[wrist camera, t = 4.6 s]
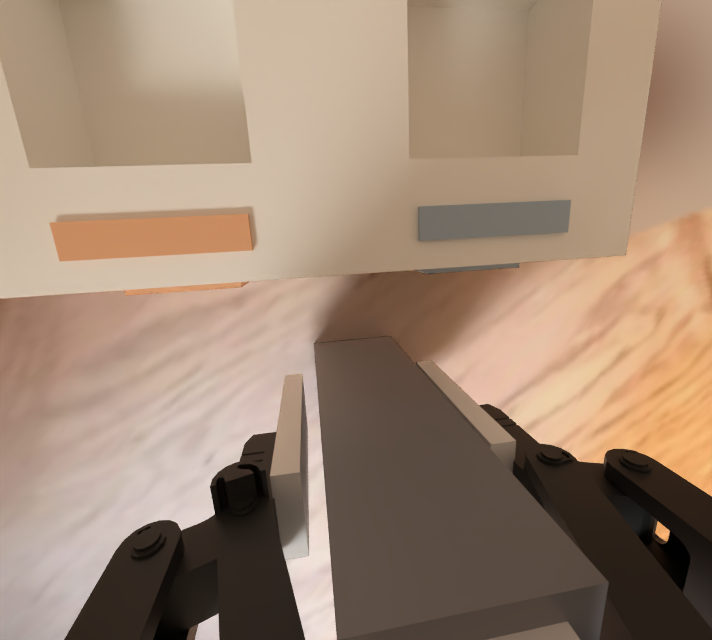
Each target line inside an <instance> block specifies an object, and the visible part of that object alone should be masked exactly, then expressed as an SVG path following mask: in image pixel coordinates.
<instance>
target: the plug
mask: <svg viewBox="0 0 712 640" xmlns="http://www.w3.org/2000/svg"><path fill="white" fill-rule="evenodd" d="M314 350H315V363H316V376H317V389H318V402H319V414H320V427H321V440H322V453H323V466H324V478H325V491H326V504H327V517H328V530H329V542H330V555H331V568H332V581H333V594H334V606H335V619H336V632H337V640H599V638H600V632H601V626H602V620H603V614H604V608H605V602H606V596H607V590H608V584H609V582H608V581H607V580H606V579H605V577H604V576H603V575H602V574H601V573H600V572H599V571H598V570H597V568H596V567H595V566H594V565H593V564H592V563H591V562H590V561H589V559H588V558H587V557H586V556H585V555H584V554H583V553H582V552H581V550H580V549H579V548H578V547H577V546H576V545H575V544H574V542H573V541H572V540H571V539H570V538H569V537H568V536H567V535H566V533H565V532H564V531H563V530H562V529H561V528H560V527H559V526H558V524H557V523H556V522H555V521H554V520H553V519H552V518H551V517H550V515H549V514H548V513H547V512H546V511H545V510H544V509H543V508H542V506H541V505H540V504H539V503H538V502H537V501H536V500H535V498H534V497H533V496H532V495H531V494H530V493H529V492H528V491H527V489H526V488H525V487H524V486H523V485H522V484H521V483H520V482H519V480H518V479H517V478H516V477H515V476H514V475H513V474H512V473H511V471H510V470H509V469H508V468H507V467H506V466H505V465H504V464H503V462H502V461H501V460H500V459H499V458H498V457H497V456H496V455H495V453H494V452H493V451H492V450H491V449H490V448H489V447H488V445H487V444H486V443H485V442H484V441H483V440H482V439H481V438H480V436H479V435H478V434H477V433H476V432H475V431H474V430H473V429H472V427H471V426H470V425H469V424H468V423H467V422H466V421H465V420H464V418H463V417H462V416H461V415H460V414H459V413H458V412H457V411H456V409H455V408H454V407H453V406H452V405H451V404H450V403H449V401H448V400H447V399H446V398H445V397H444V396H443V395H442V394H441V392H440V391H439V390H438V389H437V388H436V387H435V386H434V385H433V383H432V382H431V381H430V380H429V379H428V378H427V377H426V376H425V374H424V373H423V372H422V371H421V370H420V369H419V368H418V367H417V365H416V364H415V363H414V362H413V361H412V360H411V359H410V357H409V356H408V355H407V354H406V353H405V352H404V351H403V350H402V348H401V347H400V346H399V345H398V344H397V343H396V342H395V341H394V339H393V338H392V337H391V336H386V337H376V338H365V339H354V340H344V341H333V342H323V343H314Z"/></svg>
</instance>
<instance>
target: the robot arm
mask: <svg viewBox="0 0 712 640" xmlns="http://www.w3.org/2000/svg"><path fill="white" fill-rule="evenodd" d="M416 365H417V367H418V368H419V369H420V370H421V371H422V372H423V373H424V374H425V376H426V377H427V378H428V379H429V380H430V381H431V382H432V383H433V385H434V386H435V387H436V388H437V389H438V390H439V391H440V392H441V394H442V395H443V396H444V397H445V398H446V399H447V400H448V401H449V403H450V404H451V405H452V406H453V407H454V408H455V409H456V411H457V412H458V413H459V414H460V415H461V416H462V417H463V418H464V420H465V421H466V422H467V423H468V424H469V425H470V426H471V427H472V429H473V430H474V431H475V432H476V433H477V434H478V435H479V436H480V438H481V439H482V440H483V441H484V442H485V443H486V444H487V445H488V447H489V448H490V449H491V450H492V451H493V452H494V453H495V455H496V456H497V457H498V458H499V459H500V460H501V461H502V462H503V464H504V465H505V466H506V467H507V468H508V469H509V470H510V471H511V473H512V474H513V475H514V476H515V477H516V478H517V479H518V480H519V482H520V483H521V484H522V485H523V486H524V487H525V488H526V489H527V491H528V492H529V493H530V494H531V495H532V496H533V497H534V498H535V500H536V501H537V502H538V503H539V504H540V505H541V506H542V508H543V509H544V510H545V511H546V512H547V513H548V514H549V515H550V517H551V518H552V519H553V520H554V521H555V522H556V523H557V524H558V526H559V527H560V528H561V529H562V530H563V531H564V532H565V533H566V535H567V536H568V537H569V538H570V539H571V540H572V541H573V542H574V544H575V545H576V546H577V547H578V548H579V549H580V550H581V552H582V553H583V554H584V555H585V556H586V557H587V558H588V559H589V561H590V562H591V563H592V564H593V565H594V566H595V567H596V568H597V570H598V571H599V572H600V573H601V574H602V575H603V576H604V577H605V579H606V580H607V581H608V582H609V584H608V590H607V596H606V602H605V608H604V614H603V620H602V626H601V632H600V638H599V640H712V497H711V496H710V495H708V494H707V493H705V492H704V491H702V490H701V489H699V488H698V487H696V486H694V485H693V484H691V483H690V482H688V481H687V480H685V479H684V478H682V477H681V476H679V475H677V474H676V473H674V472H673V471H671V470H670V469H668V468H667V467H665V466H664V465H662V464H661V463H659V462H657V461H656V460H654V459H652V458H650V457H648V456H646V455H644V454H641V453H638V452H636V451H633V450H627V449H612V450H609V451H607V453H606V454H605V458H604V464H600V463H587V462H578V461H577V459H576V458H575V457H574V456H572V455H571V454H570V453H569V452H567V451H565V450H563V449H561V448H559V447H555V446H552V445H546V444H539V443H538V442H537V441H536V440H535V439H533V438H532V437H531V436H530V435H529V434H528V433H526V432H525V431H524V430H523V429H522V428H521V427H520V426H518V425H516V423H515V422H514V421H513V420H512V419H509V417H508V416H507V415H506V414H505V413H503V412H502V411H501V410H500V409H498V408H495V407H493V406H491V405H489V404H484V405H478V404H477V403H476V402H475V401H474V400H473V399H472V398H471V397H470V396H469V395H468V394H467V393H465V392H464V391H463V390H462V389H461V388H460V387H459V386H458V385H457V384H456V383H455V382H454V381H453V380H452V379H451V378H450V377H449V376H448V375H447V374H446V373H444V372H443V371H442V370H441V369H440V368H439V367H438V366H437V365H436V364H435V363H434V362H433V361H432V360H427V361H418V362H416ZM210 489H211V494H212V499H213V505H214V510H215V515H214V516H212V517H211V518H209V519H207V520H205V521H203V522H201V523H199V524H197V525H194V526H192V527H189V528H187V529H184V530H182V531H181V530H180V528H179V526H178V524H177V523H175V522H173V521H170V520H162V521H157V522H153V523H150V524H147V525H145V526H143V527H142V528H140V529H138V530H136V531H135V532H133V533H132V534H131V535H130V536H128V537H127V538H126V539H125V540H124V541H123V542H122V543H121V545H120V546H119V547H118V549H117V550H116V551H115V553H114V555H113V557H112V558H111V560H110V562H109V564H108V565H107V567H106V569H105V570H104V572H103V574H102V576H101V577H100V579H99V581H98V582H97V584H96V586H95V588H94V589H93V591H92V593H91V595H90V596H89V598H88V600H87V601H86V603H85V605H84V607H83V608H82V610H81V612H80V614H79V615H78V617H77V619H76V620H75V622H74V624H73V626H72V627H71V629H70V631H69V632H68V634H67V636H66V638H65V639H64V640H194V639H195V635H196V631H197V627H198V624H199V623H201V622H203V621H205V620H207V619H209V618H210V617H212V616H214V615H216V614H218V613H219V637H220V640H305V637H304V633H303V629H302V625H301V621H300V617H299V613H298V609H297V605H296V601H295V597H294V593H293V589H292V585H291V581H290V577H289V573H288V569H287V565H286V561H285V560H289V559H295V558H301V557H306V556H309V511H308V426H307V416H306V406H305V396H304V386H303V376H302V374H296V375H286V376H285V380H284V387H283V393H282V400H281V406H280V413H279V420H278V426H277V432H273V433H265V434H257V435H253V436H252V437H251V438H250V439H249V440H248V441H247V442H246V443H245V445H244V448H243V452H242V456H241V458H240V462H236V463H234V464H232V465H229V466H227V467H225V468H224V469H222V470H221V471H219V472H218V473H217V474H216V476H215V477H214V478H213V479H212V482H211V486H210ZM657 521H659V522H660V523H661V524H662V525H664V526H665V527H666V528H667V529H668V530H670V534H669V539H668V541H667V542H666V541H664V540H663V539H661V538H660V537H659V536H658V535H656V534H655V531H656V526H657Z"/></svg>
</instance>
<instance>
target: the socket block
mask: <svg viewBox="0 0 712 640" xmlns="http://www.w3.org/2000/svg"><path fill="white" fill-rule="evenodd" d="M661 4H662V0H0V299H3V298H18V297H32V296H47V295H61V294H75V293H90V292H104V291H119V290H124V292H125V295H139V294H153V293H167V292H181V291H195V290H209V289H223V288H237V287H243V286H244V285H245V284H247V283H248V282H250V281H263V280H278V279H292V278H307V277H321V276H336V275H350V274H365V273H379V272H393V271H408V270H413V271H417V272H421V273H424V274H434V273H448V272H462V271H476V270H490V269H504V268H518V267H519V263H523V262H538V261H552V260H567V259H581V258H596V257H610V256H625V255H626V252H627V245H628V238H629V231H630V224H631V216H632V209H633V203H634V196H635V189H636V182H637V174H638V167H639V160H640V153H641V146H642V139H643V132H644V124H645V118H646V111H647V103H648V97H649V96H648V95H649V89H650V82H651V75H652V68H653V61H654V54H655V47H656V40H657V33H658V25H659V19H660V11H661Z"/></svg>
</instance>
